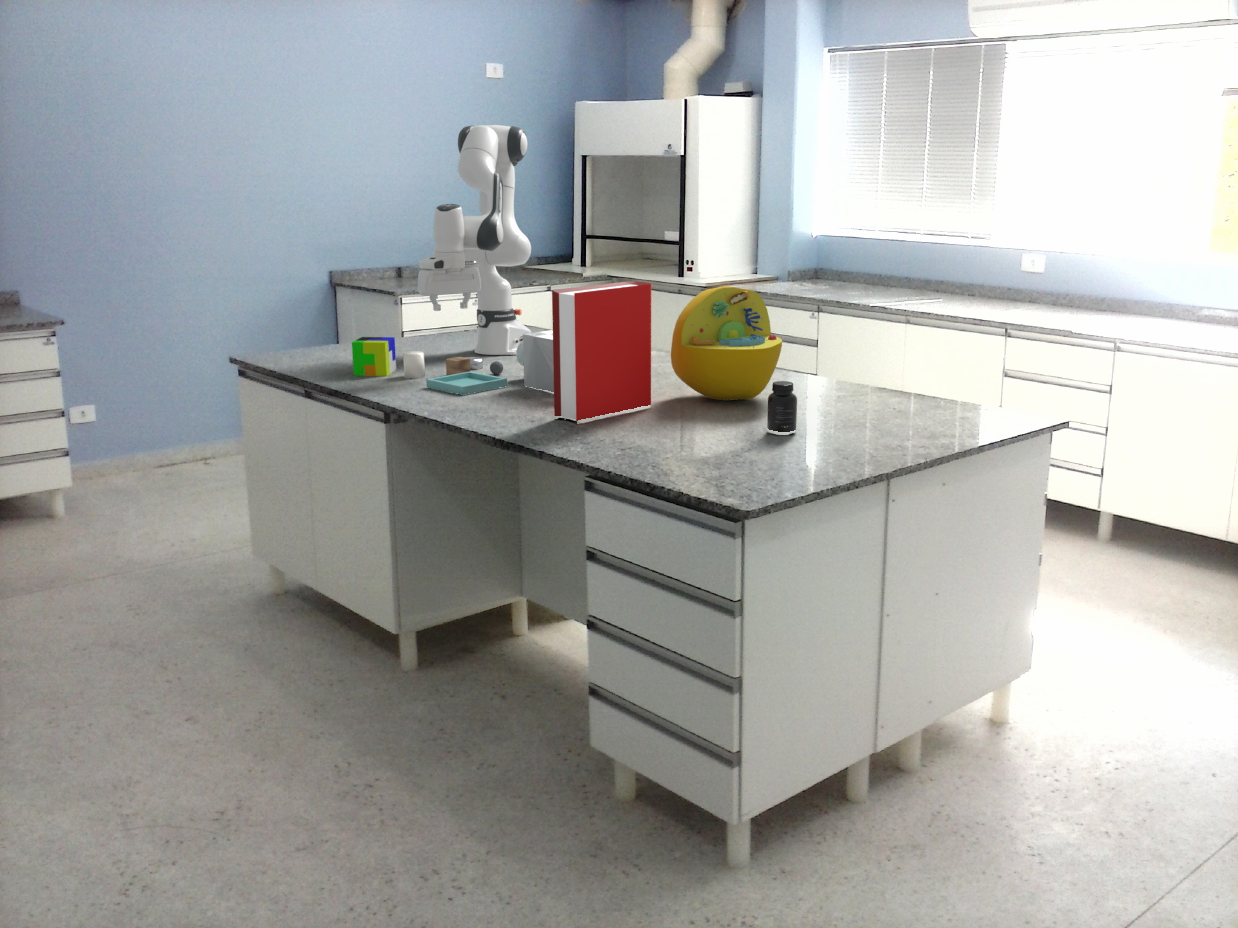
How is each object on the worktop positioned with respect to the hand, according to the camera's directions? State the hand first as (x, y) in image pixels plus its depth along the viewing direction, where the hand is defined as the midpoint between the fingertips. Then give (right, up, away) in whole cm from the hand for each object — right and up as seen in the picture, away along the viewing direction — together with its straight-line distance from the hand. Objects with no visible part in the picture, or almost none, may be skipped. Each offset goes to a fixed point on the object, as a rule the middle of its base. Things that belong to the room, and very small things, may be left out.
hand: (450, 309), depth 343 cm
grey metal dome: (+4, -16, +16) cm, 23 cm away
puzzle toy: (-24, -18, +10) cm, 31 cm away
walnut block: (+2, -19, +5) cm, 20 cm away
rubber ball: (+13, -17, +5) cm, 22 cm away
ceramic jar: (-11, -19, +3) cm, 23 cm away
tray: (+6, -24, -13) cm, 28 cm away
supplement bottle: (+88, -38, -66) cm, 116 cm away
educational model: (+78, -28, -31) cm, 88 cm away
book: (+46, -33, -46) cm, 72 cm away
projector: (+34, -24, -12) cm, 43 cm away
